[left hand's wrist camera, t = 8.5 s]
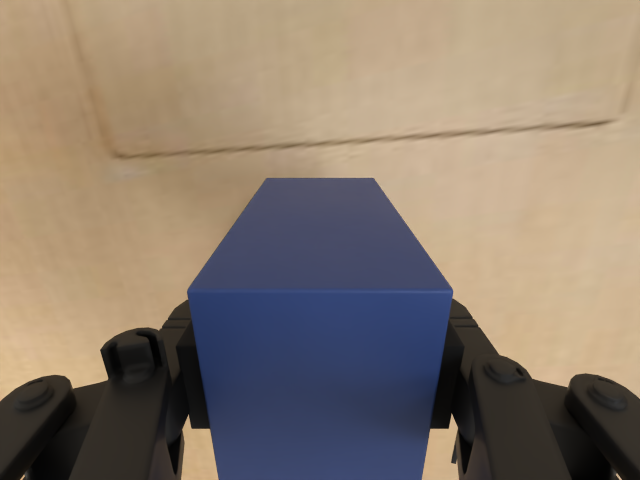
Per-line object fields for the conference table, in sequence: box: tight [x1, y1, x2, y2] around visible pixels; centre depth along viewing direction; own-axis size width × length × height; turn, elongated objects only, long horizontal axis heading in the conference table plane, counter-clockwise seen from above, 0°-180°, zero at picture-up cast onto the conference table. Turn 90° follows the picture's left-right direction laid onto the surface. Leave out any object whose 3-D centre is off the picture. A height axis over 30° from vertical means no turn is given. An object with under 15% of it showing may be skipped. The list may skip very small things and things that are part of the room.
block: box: [187, 178, 453, 480], centre depth 13 cm, size 5×6×11 cm
